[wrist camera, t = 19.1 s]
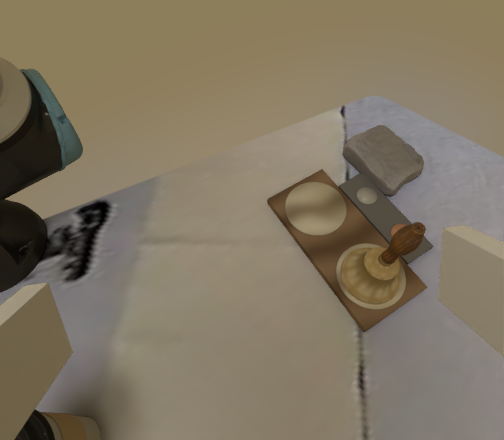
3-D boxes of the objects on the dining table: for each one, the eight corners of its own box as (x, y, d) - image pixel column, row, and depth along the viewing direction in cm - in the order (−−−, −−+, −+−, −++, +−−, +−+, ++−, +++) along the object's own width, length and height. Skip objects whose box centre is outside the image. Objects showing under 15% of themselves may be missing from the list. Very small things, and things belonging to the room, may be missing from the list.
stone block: (372, 137, 61) (335, 155, 57) (385, 117, 57) (346, 135, 53) (419, 181, 57) (382, 203, 53) (436, 163, 53) (398, 186, 49)
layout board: (267, 203, 53) (267, 198, 52) (321, 173, 56) (322, 168, 54) (363, 332, 44) (366, 330, 42) (423, 289, 46) (428, 286, 45)
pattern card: (337, 188, 54) (339, 185, 53) (361, 174, 55) (362, 171, 54) (406, 265, 48) (408, 262, 47) (430, 248, 49) (434, 245, 48)
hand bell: (407, 263, 46) (470, 209, 32) (389, 315, 43) (450, 281, 29) (352, 239, 48) (388, 178, 34) (331, 287, 45) (361, 242, 31)
